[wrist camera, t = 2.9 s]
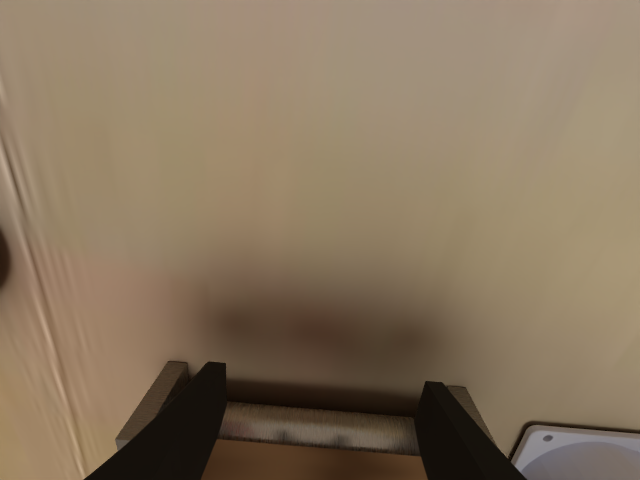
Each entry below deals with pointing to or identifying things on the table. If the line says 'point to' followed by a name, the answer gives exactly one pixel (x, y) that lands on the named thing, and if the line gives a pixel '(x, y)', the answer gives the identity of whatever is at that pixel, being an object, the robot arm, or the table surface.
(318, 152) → the table surface
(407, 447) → the roller bed
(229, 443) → the slab
